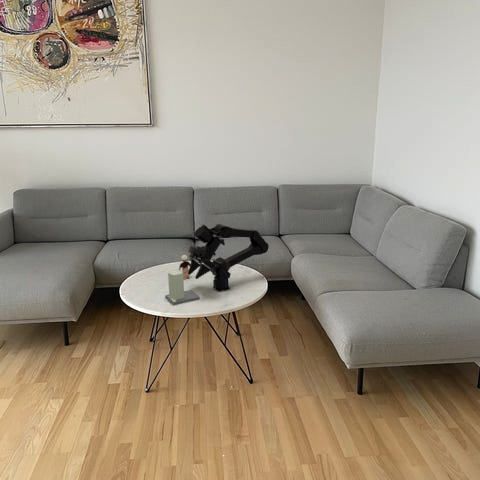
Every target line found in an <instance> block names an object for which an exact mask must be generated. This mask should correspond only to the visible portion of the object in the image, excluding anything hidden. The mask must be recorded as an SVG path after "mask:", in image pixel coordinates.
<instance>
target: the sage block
mask: <svg viewBox="0 0 480 480" xmlns="http://www.w3.org/2000/svg"><path fill="white" fill-rule="evenodd" d="M167 276H168V277H167V278H168V295H169V297H170V298H171V299H173V300H174V301H176V300H179V299H183V298H184V291H185V283H184V278H183V273H182V271H181V270H179V269H177V270H174V271H173V270H172V271H169V272H167Z"/></svg>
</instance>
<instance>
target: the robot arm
mask: <svg viewBox="0 0 480 480" xmlns="http://www.w3.org/2000/svg"><path fill="white" fill-rule="evenodd" d="M194 237H195V238H196V239H198V240H199V241H200V242H202V243H203V244H205V245H202V246H198V245H197V246H193V245H190V246H189V249H188V253H189V260H190V266H189V267H188V269H189V271H188V274H189V276H190V275H191V274H193V272H195V271H196V270H197V269H198V270H197V272H196V275H195V277H194V278H195V279H196V280H197V279H200V278H201V277H202V276H204V275H206V274H208V273H209V272H211V275H212V276H213V281H212V282H213V283H212V284H213V286H212V288H213V289H215V290H216V291H217V292H222V291H223V292H224V291H228V290H230V289H231V287H230V286H229V279H230V278H231V272H230V271H229V270H230V269H231V268H232V267H234V266H236V265H238V264H240V263H241V262H244V261H245V260H248V259H250V258H252V257H253V256H257V255H258V256H259V255H263V254H266V253H267V252H268V251H269V247H270V246H269V243H268V242H266V240H265V239H264V238H263V236H261V234H260V232H259V231H258V230H255V229H253V228H251V229H250V228H240V227H232V226H231V227H230V226H227V225H225V224H221V223H218V224H216V225H215V226H214V227H211V228H208V226H206V225H205V224H202V225H201V226H199V227H198V228H197V229H195V231H194ZM233 237H238V238H239V237H240V238H249V241H250V244H249V245H248V247H246V248H244V249H242V250H241V251H238V252H236V253H234V254H233V255H231V256H229V257H227V258H225V259H224V258H222V257H221V256H219V257H217V258H216V259H213V260H211V259H212V258H213V257H214V256H216V255H217V253H216V252H217V250H218V249H219V248H220V246H221V245H223V246H226V244H225V239H229V238H233Z"/></svg>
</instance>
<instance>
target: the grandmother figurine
mask: <svg viewBox="0 0 480 480" xmlns="http://www.w3.org/2000/svg"><path fill="white" fill-rule="evenodd" d="M180 259H181V261H182V262H181V263H180V264H179V267H178V271H181V270H182V271H181V272H182V273H183V278H184V280H186V281H187V279H190V278H191V277H190V275H189V274H188V271H189V267H190V264H191V262H189V261H188V260H189V258H188V255H186V254H183V255H181V258H180Z"/></svg>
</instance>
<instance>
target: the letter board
mask: <svg viewBox="0 0 480 480" xmlns="http://www.w3.org/2000/svg"><path fill="white" fill-rule="evenodd" d="M200 297H201V296H199V294H197V293H196V292H194V290H192V289H189V290H188V289H187V290H184V298H183V299H179V300H176V301H174V300H173V299H171V298H170V297H169V294H165V299H166V300H167V301H168V302H169V303H170V304H171V305H172V306H176V305H180V304H185V303H190V302H193V301H194V302H195V301H199V300H200V299H201V298H200Z"/></svg>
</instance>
